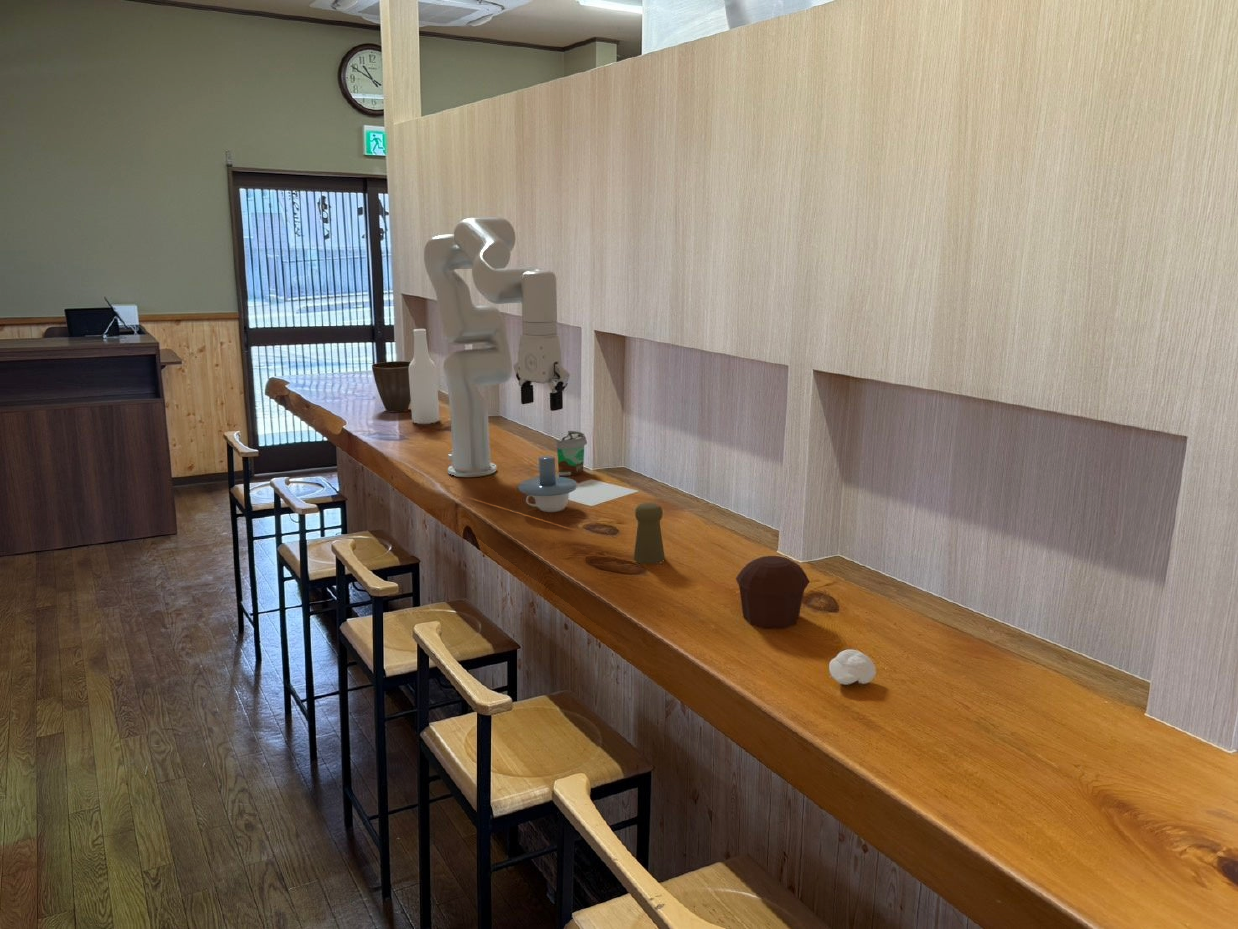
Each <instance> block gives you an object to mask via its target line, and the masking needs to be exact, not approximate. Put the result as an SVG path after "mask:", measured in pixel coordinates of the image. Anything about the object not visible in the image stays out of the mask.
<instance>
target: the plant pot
mask: <svg viewBox="0 0 1238 929" xmlns="http://www.w3.org/2000/svg"><path fill="white" fill-rule="evenodd" d="M410 363H411V361H403V360H397V361H383V362H377V363H373V364H371V369H372V374H373V378H374V383H375V386H376V388H377V392H378V394H379V397H380V400H381V402H382V405H383V407H384V409H385V411H386V410H387V411H386V412H388V411H403V412H406V411H405V410H407V411H408V410H409V408H410V406H411V398H410V384H409V365H410Z"/></svg>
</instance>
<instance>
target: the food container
mask: <svg viewBox="0 0 1238 929" xmlns="http://www.w3.org/2000/svg"><path fill="white" fill-rule="evenodd" d="M587 444H588V441H587V437H586V436H585V433H584V432H580V431H576V430H568V431H567V435H565V436H563V437H562V439H560V440H556V450H557V465H558V467H557V468H558V477H565V478H570V477H576V476H579V475H581V474H583V473H584V463H585V462H584V459H585V458H584V457H585V445H587Z"/></svg>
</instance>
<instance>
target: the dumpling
mask: <svg viewBox="0 0 1238 929" xmlns="http://www.w3.org/2000/svg"><path fill="white" fill-rule="evenodd" d="M828 665H829V666H828V668H829V674H830V675H829V678H833V680H834V681H835V682H837V683H839V684H841V685H845V686H849V685H851V684H853V683H855V682H858V684H861V685H865V684H868V683H871V681H872V680H874V678H875V677H876V674H877V669H876V666H875V663H874V662H873V661H872V659H871V658H870V657H869V656H867V655H866V654H865V653H863V652H861V651H860V650H857V649H845V650H842V651H840V652H839V653H838V654H837V655H836V657H834V658H832V659H831V660H830V661H829V664H828Z"/></svg>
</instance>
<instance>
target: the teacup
mask: <svg viewBox="0 0 1238 929" xmlns="http://www.w3.org/2000/svg"><path fill="white" fill-rule="evenodd" d="M530 497H532V498H534V500H535V501H534V502H535V503H530V502H529V498H530ZM568 498H569V493H566V494H562V495H555V496H534V495H528V494H527V495H526V498H525V502H526V504H527V505H528V506H530V507H535V508H536V507H537V508H538V509H539V510H540V511H542V512H546V513H556V512H561V511H563V510H565V509H566V508H567V505H568V503H569V500H568Z"/></svg>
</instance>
